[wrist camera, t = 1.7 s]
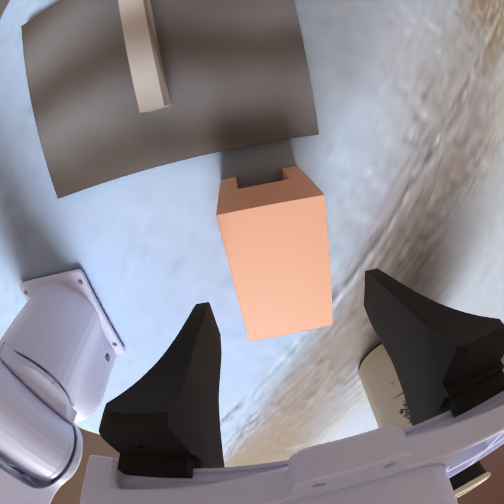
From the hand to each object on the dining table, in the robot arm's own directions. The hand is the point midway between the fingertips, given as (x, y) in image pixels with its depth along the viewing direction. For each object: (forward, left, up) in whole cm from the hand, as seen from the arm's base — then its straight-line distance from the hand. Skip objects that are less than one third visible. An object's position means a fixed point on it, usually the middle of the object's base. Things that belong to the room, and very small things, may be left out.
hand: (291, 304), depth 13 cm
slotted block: (0, 0, -9) cm, 9 cm away
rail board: (+13, +5, -9) cm, 16 cm away
